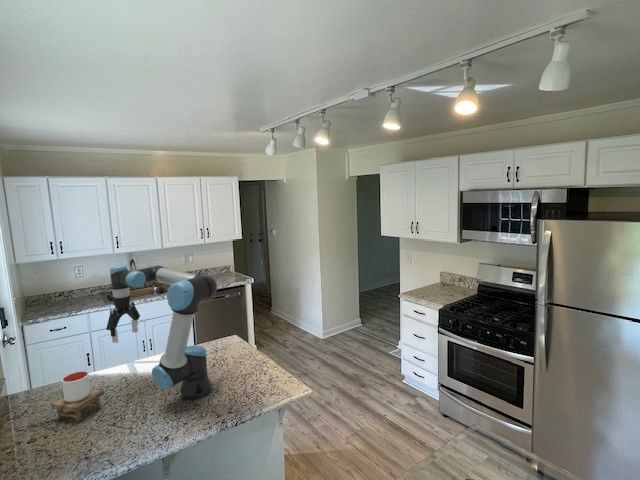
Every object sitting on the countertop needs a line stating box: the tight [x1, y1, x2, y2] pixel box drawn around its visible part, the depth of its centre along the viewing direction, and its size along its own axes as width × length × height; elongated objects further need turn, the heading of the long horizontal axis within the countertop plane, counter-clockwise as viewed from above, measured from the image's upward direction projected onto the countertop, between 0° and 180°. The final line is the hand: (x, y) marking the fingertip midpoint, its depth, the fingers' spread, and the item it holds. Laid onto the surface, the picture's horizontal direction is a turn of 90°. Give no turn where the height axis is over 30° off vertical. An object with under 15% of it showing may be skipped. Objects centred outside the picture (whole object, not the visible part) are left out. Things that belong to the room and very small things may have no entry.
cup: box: [61, 371, 91, 402], centre depth 160 cm, size 10×10×10 cm
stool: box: [51, 388, 105, 424], centre depth 161 cm, size 14×14×8 cm
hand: (125, 337), depth 178 cm, fingers open, 13 cm apart
